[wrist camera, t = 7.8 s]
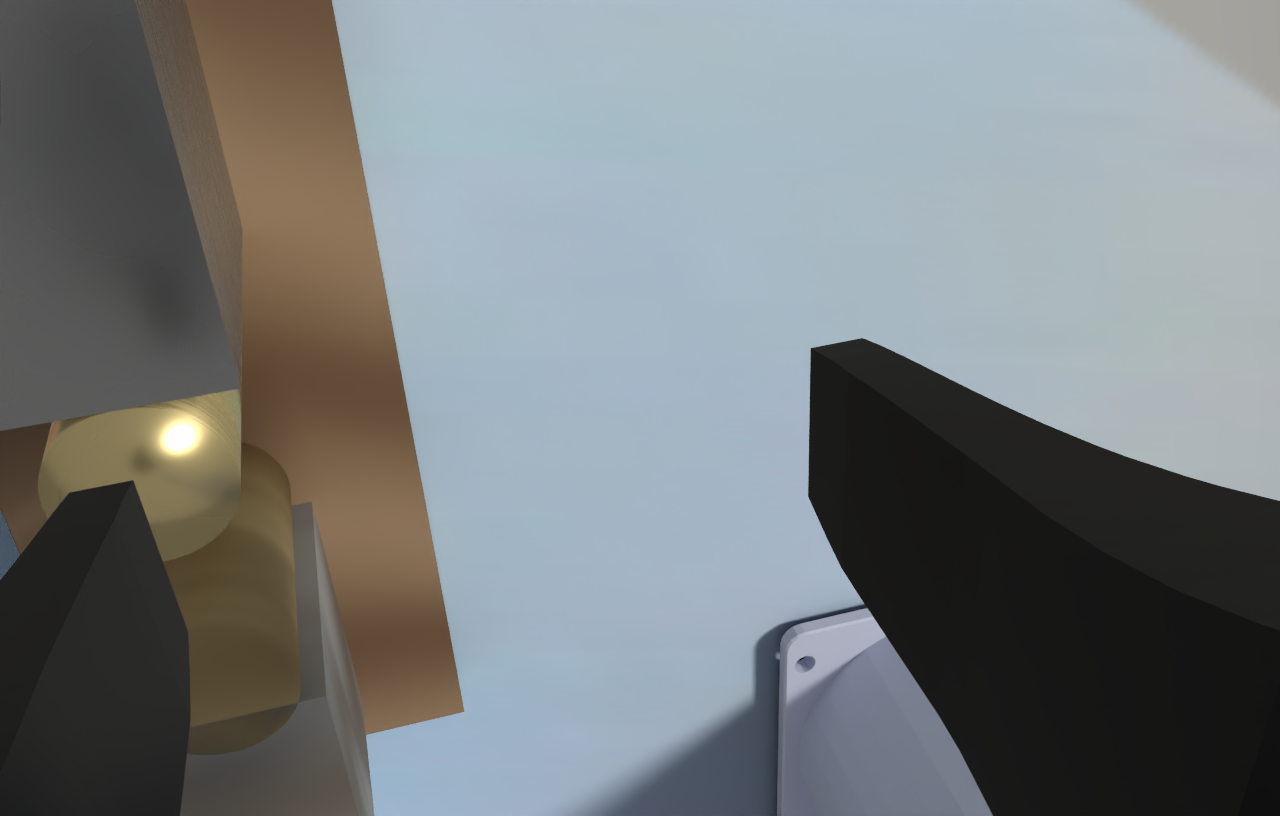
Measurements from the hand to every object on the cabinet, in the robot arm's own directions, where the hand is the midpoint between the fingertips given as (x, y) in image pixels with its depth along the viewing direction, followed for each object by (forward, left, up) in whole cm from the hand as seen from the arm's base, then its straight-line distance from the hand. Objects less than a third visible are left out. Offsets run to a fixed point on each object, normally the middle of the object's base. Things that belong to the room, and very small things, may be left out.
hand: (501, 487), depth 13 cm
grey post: (+1, +4, -8) cm, 9 cm away
